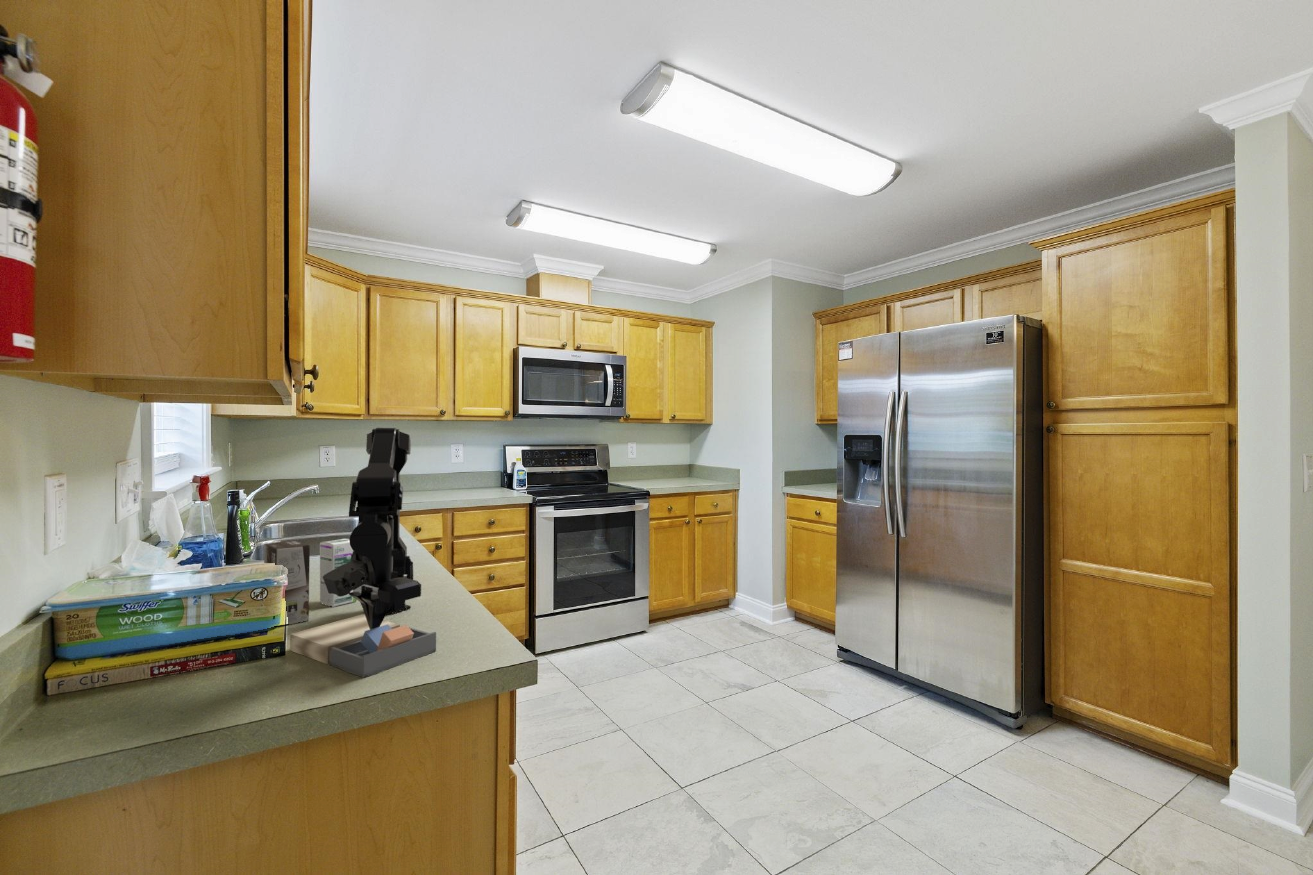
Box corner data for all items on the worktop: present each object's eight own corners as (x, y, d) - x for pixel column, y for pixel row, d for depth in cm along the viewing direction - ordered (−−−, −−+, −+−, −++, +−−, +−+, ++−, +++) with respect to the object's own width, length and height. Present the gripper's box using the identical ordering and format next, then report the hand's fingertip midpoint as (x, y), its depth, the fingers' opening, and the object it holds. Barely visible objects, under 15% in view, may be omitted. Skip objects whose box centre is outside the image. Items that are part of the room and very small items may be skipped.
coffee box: (310, 620, 124) (311, 544, 124) (275, 628, 120) (275, 548, 120) (296, 611, 131) (297, 538, 131) (262, 618, 126) (263, 542, 126)
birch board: (290, 650, 108) (290, 633, 108) (362, 629, 120) (362, 614, 120) (327, 664, 102) (327, 646, 102) (399, 640, 114) (399, 624, 114)
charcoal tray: (329, 664, 101) (329, 644, 101) (401, 640, 113) (401, 622, 113) (364, 677, 96) (364, 656, 96) (436, 651, 108) (436, 632, 108)
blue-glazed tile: (360, 642, 105) (364, 631, 104) (384, 635, 109) (387, 624, 108) (374, 658, 103) (378, 647, 102) (397, 650, 107) (401, 639, 106)
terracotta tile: (383, 631, 101) (391, 640, 100) (406, 624, 105) (414, 633, 104) (375, 653, 102) (383, 662, 101) (398, 645, 106) (406, 654, 105)
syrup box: (332, 607, 134) (333, 543, 134) (318, 603, 137) (319, 541, 137) (357, 601, 139) (357, 540, 139) (343, 597, 142) (343, 537, 142)
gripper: (301, 545, 104) (299, 633, 104) (364, 560, 94) (362, 657, 95) (361, 536, 114) (359, 617, 114) (424, 548, 104) (422, 637, 104)
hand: (374, 631), depth 106 cm, fingers closed
